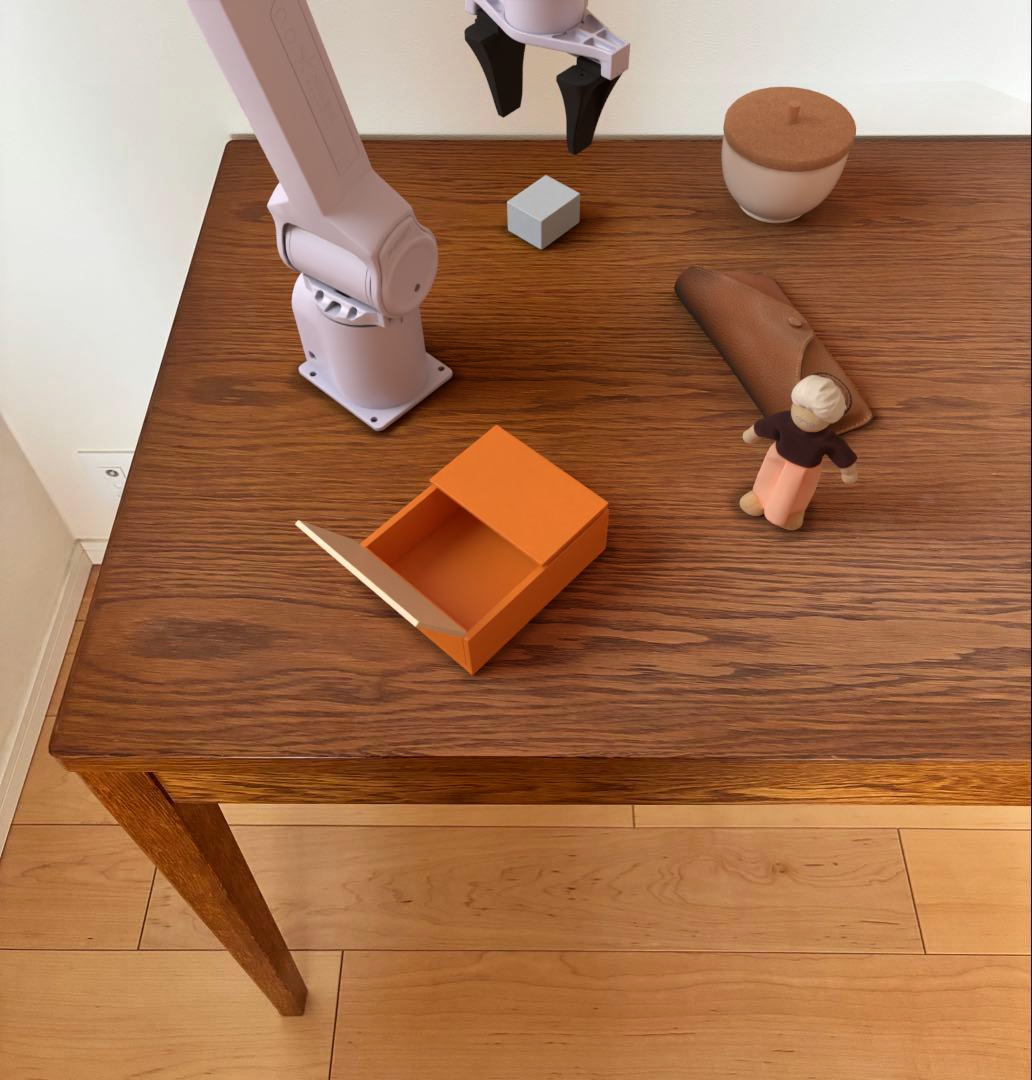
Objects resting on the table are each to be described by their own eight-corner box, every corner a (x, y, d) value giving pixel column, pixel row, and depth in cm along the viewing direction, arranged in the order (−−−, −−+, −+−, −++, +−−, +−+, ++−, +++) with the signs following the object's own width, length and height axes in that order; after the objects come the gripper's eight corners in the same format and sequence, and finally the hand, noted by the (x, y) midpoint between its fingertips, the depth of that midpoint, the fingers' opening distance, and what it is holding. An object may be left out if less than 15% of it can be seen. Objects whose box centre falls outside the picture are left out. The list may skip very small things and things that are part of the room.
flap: (468, 633, 57) (464, 638, 57) (355, 540, 61) (352, 544, 61) (419, 621, 52) (415, 627, 52) (298, 519, 56) (294, 524, 56)
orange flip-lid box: (472, 675, 62) (467, 635, 57) (365, 585, 66) (353, 540, 61) (606, 548, 67) (610, 502, 63) (499, 471, 71) (496, 423, 67)
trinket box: (713, 161, 91) (729, 63, 83) (831, 169, 90) (858, 70, 82) (710, 236, 85) (726, 138, 77) (836, 245, 84) (866, 146, 76)
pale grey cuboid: (541, 250, 85) (541, 221, 82) (507, 230, 86) (506, 201, 84) (579, 222, 87) (580, 193, 84) (545, 203, 88) (545, 174, 86)
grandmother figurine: (719, 517, 68) (752, 391, 58) (732, 476, 70) (765, 347, 60) (831, 548, 67) (885, 423, 56) (841, 505, 69) (895, 377, 58)
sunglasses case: (884, 417, 72) (865, 375, 67) (802, 472, 74) (777, 435, 69) (761, 267, 82) (736, 220, 77) (691, 319, 84) (662, 276, 78)
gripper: (664, -40, 66) (646, 142, 77) (507, -103, 72) (512, 74, 83) (596, 1, 63) (588, 183, 75) (438, -68, 69) (452, 111, 80)
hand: (543, 129), depth 79 cm, fingers open, 7 cm apart
